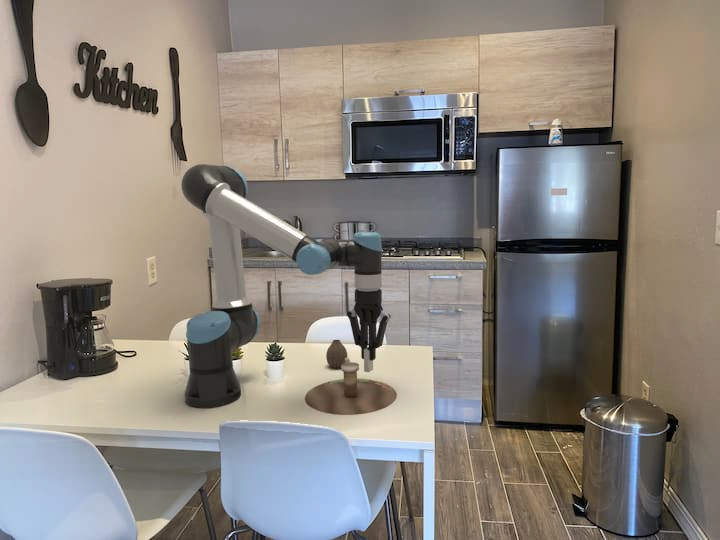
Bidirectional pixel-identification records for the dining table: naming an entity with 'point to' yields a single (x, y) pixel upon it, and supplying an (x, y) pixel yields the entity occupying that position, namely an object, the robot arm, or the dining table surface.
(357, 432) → the dining table surface
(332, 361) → the vase
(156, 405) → the dining table surface
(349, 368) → the peg lever
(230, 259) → the robot arm
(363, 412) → the brown wooden flat disc
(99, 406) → the dining table surface
